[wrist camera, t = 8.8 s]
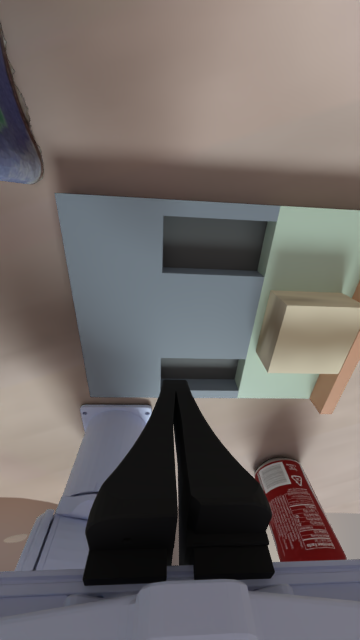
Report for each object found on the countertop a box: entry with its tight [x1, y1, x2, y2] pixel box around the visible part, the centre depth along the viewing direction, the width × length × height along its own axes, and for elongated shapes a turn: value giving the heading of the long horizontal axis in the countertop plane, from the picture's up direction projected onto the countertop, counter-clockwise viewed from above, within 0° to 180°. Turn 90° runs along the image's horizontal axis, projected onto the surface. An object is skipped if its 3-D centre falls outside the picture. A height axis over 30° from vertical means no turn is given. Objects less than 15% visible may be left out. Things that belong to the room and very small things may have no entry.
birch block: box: [256, 290, 360, 374], centre depth 19 cm, size 6×6×3 cm
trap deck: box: [55, 193, 360, 414], centre depth 20 cm, size 18×24×4 cm
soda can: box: [255, 458, 347, 562], centre depth 29 cm, size 7×7×12 cm
